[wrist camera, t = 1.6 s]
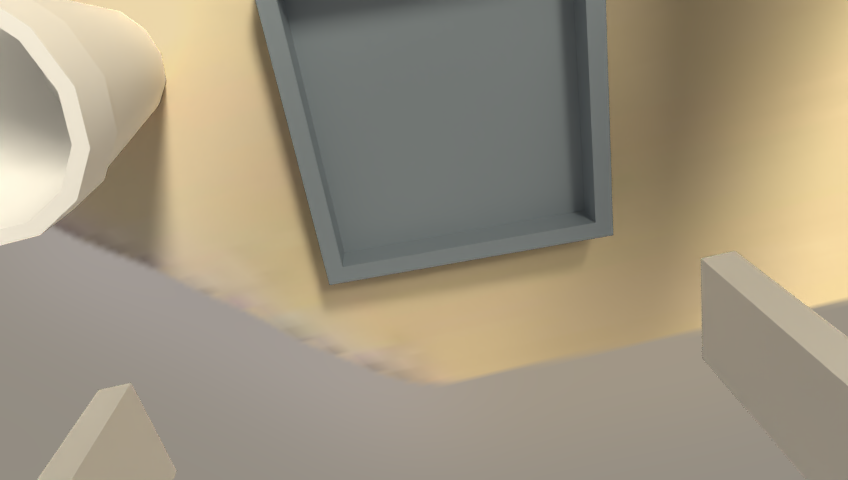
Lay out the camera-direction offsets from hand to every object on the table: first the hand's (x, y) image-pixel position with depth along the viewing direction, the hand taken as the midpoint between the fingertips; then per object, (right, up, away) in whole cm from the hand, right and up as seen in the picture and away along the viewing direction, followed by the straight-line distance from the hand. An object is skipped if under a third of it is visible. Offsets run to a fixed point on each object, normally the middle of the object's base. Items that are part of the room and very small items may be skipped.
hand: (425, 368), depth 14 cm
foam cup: (-17, +12, +18) cm, 28 cm away
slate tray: (+1, +11, +20) cm, 23 cm away
